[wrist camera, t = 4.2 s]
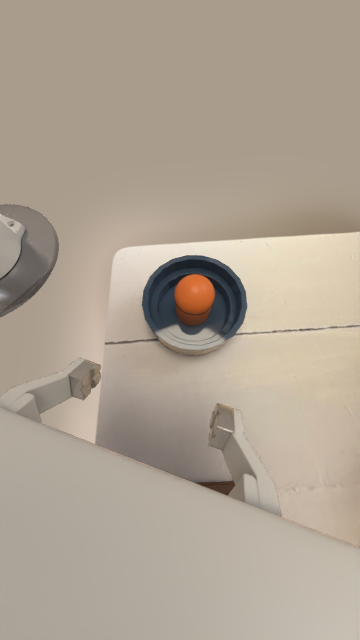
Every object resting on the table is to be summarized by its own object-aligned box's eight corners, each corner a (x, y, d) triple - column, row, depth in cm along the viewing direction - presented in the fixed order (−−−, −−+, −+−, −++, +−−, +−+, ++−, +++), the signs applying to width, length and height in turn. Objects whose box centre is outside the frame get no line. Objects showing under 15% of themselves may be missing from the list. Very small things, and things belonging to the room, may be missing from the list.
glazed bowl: (131, 319, 28) (120, 307, 24) (184, 260, 32) (184, 240, 27) (202, 375, 25) (206, 374, 21) (252, 304, 29) (266, 289, 24)
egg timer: (169, 313, 28) (163, 288, 20) (189, 289, 29) (191, 257, 22) (196, 333, 27) (200, 314, 19) (216, 307, 28) (227, 280, 20)
